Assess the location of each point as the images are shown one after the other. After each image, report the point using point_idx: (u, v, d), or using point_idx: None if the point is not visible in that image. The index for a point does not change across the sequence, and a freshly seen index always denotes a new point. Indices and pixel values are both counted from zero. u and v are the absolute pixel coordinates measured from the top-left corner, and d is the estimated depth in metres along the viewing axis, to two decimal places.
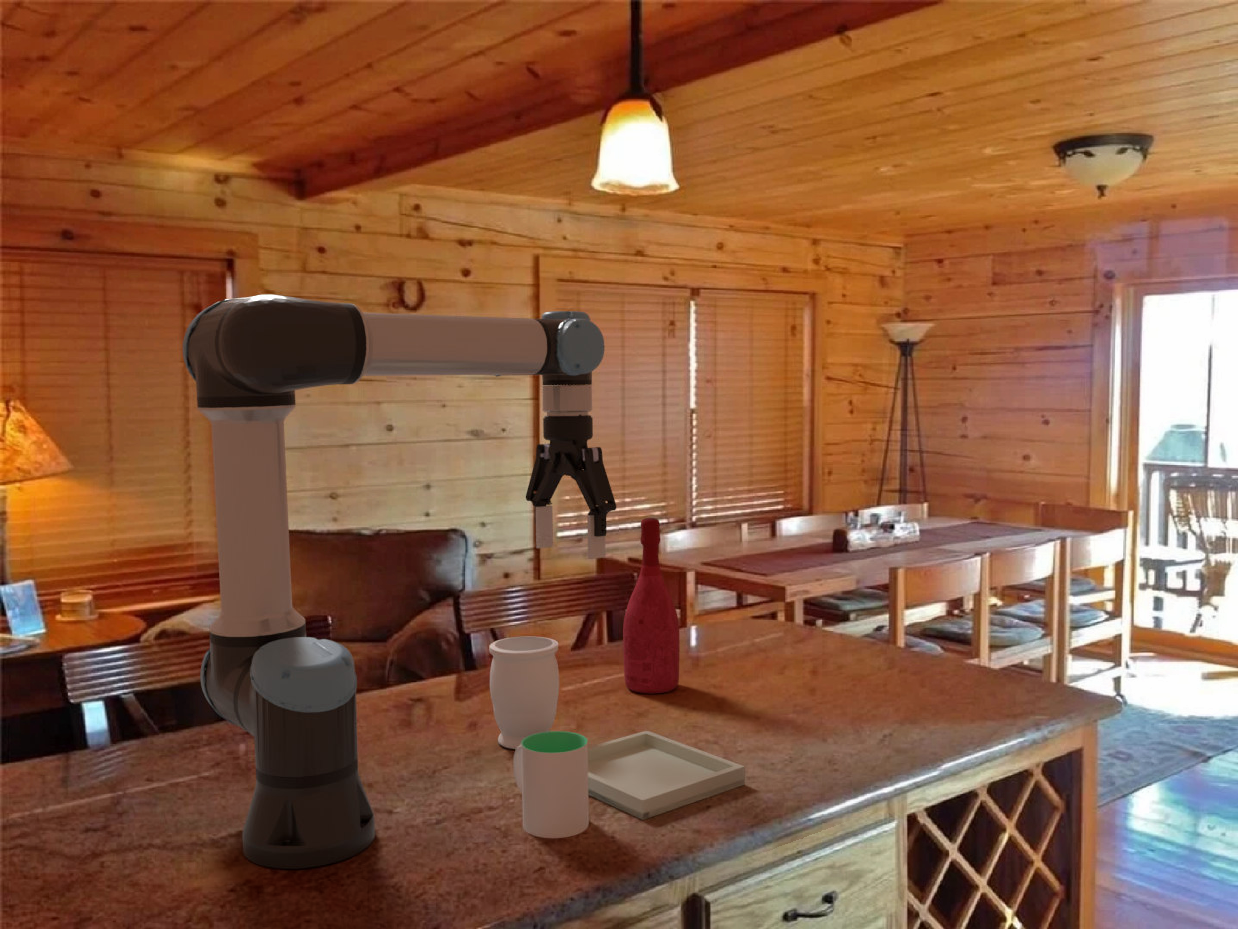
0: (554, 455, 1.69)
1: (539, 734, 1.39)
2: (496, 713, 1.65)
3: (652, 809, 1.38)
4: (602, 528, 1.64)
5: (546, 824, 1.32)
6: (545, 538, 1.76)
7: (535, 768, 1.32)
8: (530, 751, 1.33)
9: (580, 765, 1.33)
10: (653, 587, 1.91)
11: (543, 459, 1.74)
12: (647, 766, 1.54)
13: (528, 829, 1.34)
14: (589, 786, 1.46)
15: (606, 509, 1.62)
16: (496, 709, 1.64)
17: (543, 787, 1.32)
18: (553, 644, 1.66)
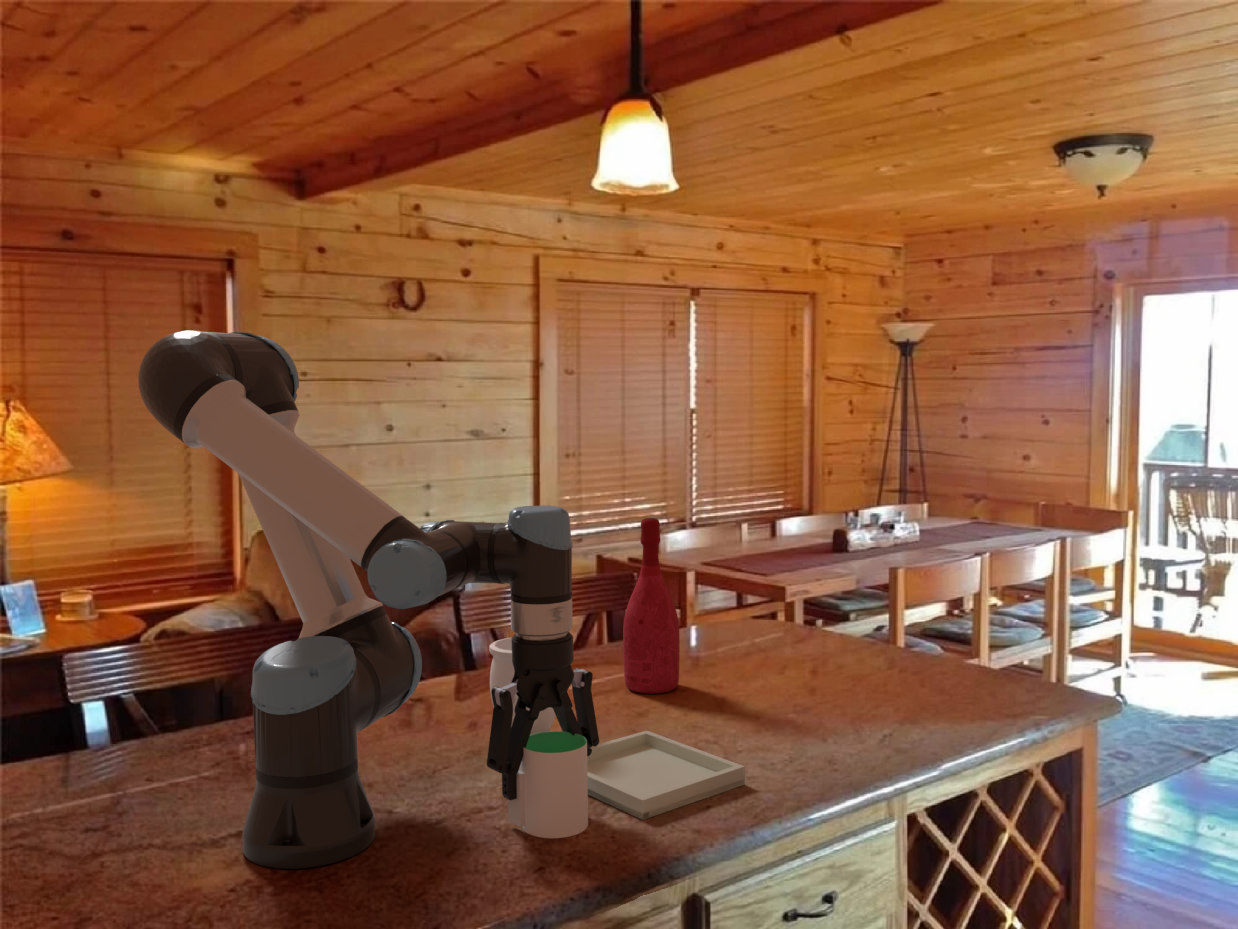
0: None
1: (538, 734, 1.39)
2: None
3: (652, 809, 1.38)
4: (505, 789, 1.34)
5: (546, 824, 1.32)
6: None
7: (534, 768, 1.32)
8: (529, 751, 1.33)
9: (580, 765, 1.33)
10: (653, 587, 1.91)
11: (575, 687, 1.41)
12: (647, 766, 1.54)
13: (527, 829, 1.34)
14: (589, 786, 1.46)
15: (490, 767, 1.33)
16: None
17: (542, 787, 1.32)
18: None
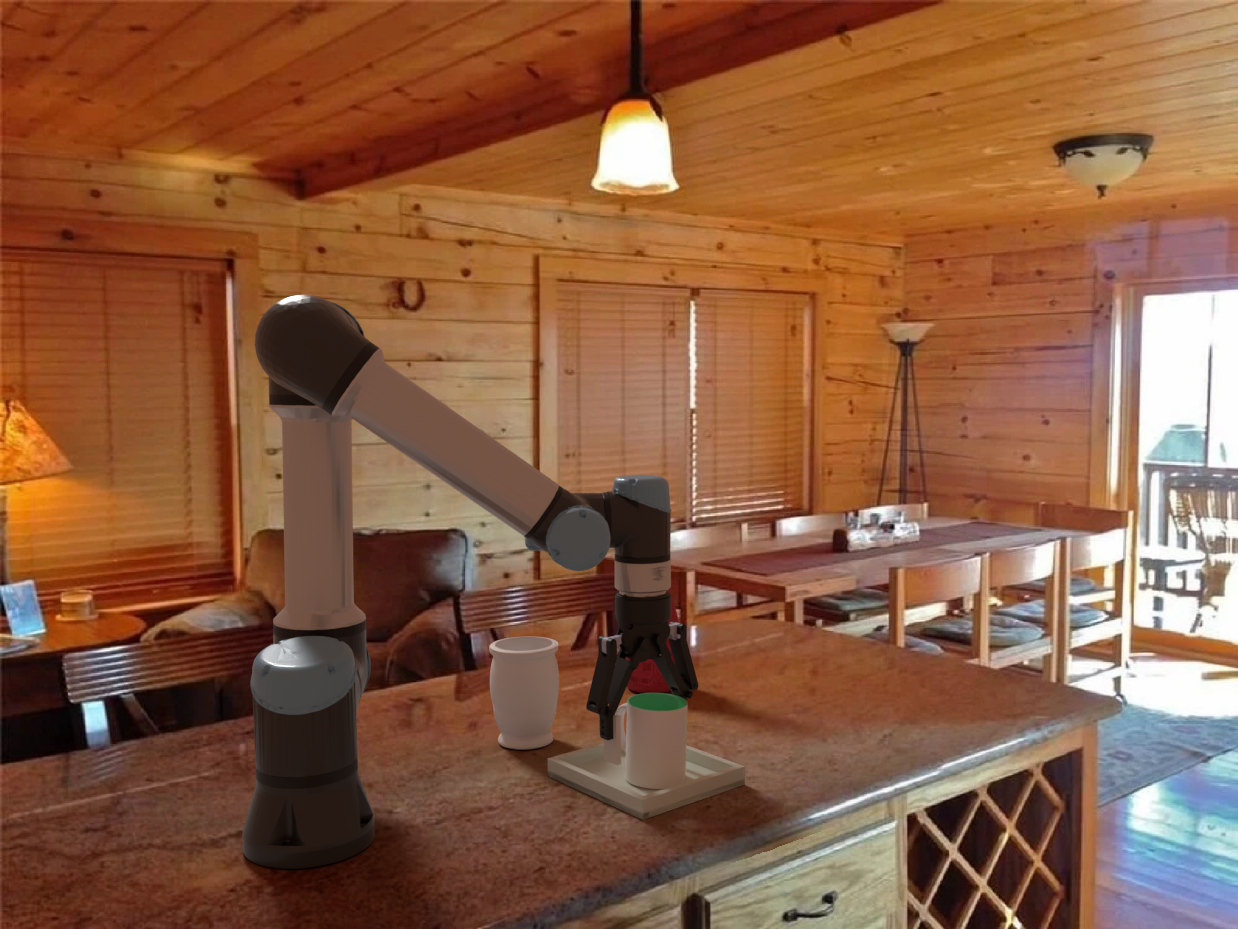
0: None
1: (641, 695, 1.52)
2: (496, 713, 1.65)
3: (652, 809, 1.38)
4: (602, 730, 1.46)
5: (650, 776, 1.45)
6: None
7: (642, 724, 1.45)
8: (637, 709, 1.45)
9: (682, 724, 1.46)
10: None
11: (671, 639, 1.53)
12: None
13: (632, 780, 1.47)
14: (589, 786, 1.46)
15: (589, 709, 1.45)
16: (496, 709, 1.64)
17: (648, 742, 1.45)
18: (553, 644, 1.66)
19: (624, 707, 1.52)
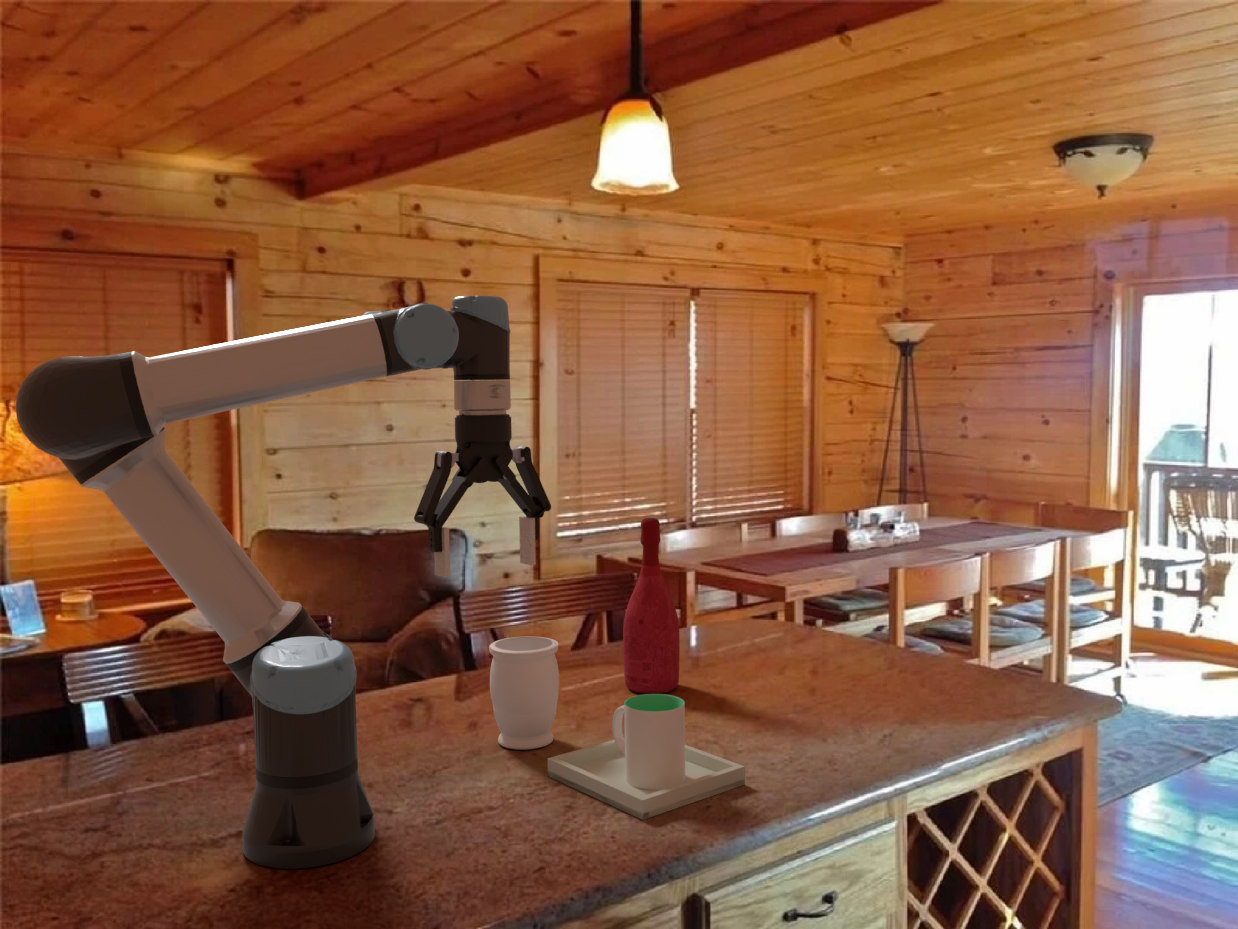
0: None
1: (638, 696, 1.52)
2: (496, 713, 1.65)
3: (652, 809, 1.38)
4: (431, 542, 1.45)
5: (650, 777, 1.45)
6: (525, 553, 1.55)
7: (639, 725, 1.45)
8: (635, 710, 1.45)
9: (680, 723, 1.46)
10: (653, 587, 1.91)
11: (517, 463, 1.54)
12: None
13: (632, 782, 1.47)
14: (589, 786, 1.46)
15: (417, 520, 1.44)
16: (496, 709, 1.64)
17: (647, 743, 1.45)
18: (553, 644, 1.66)
19: (621, 709, 1.52)
